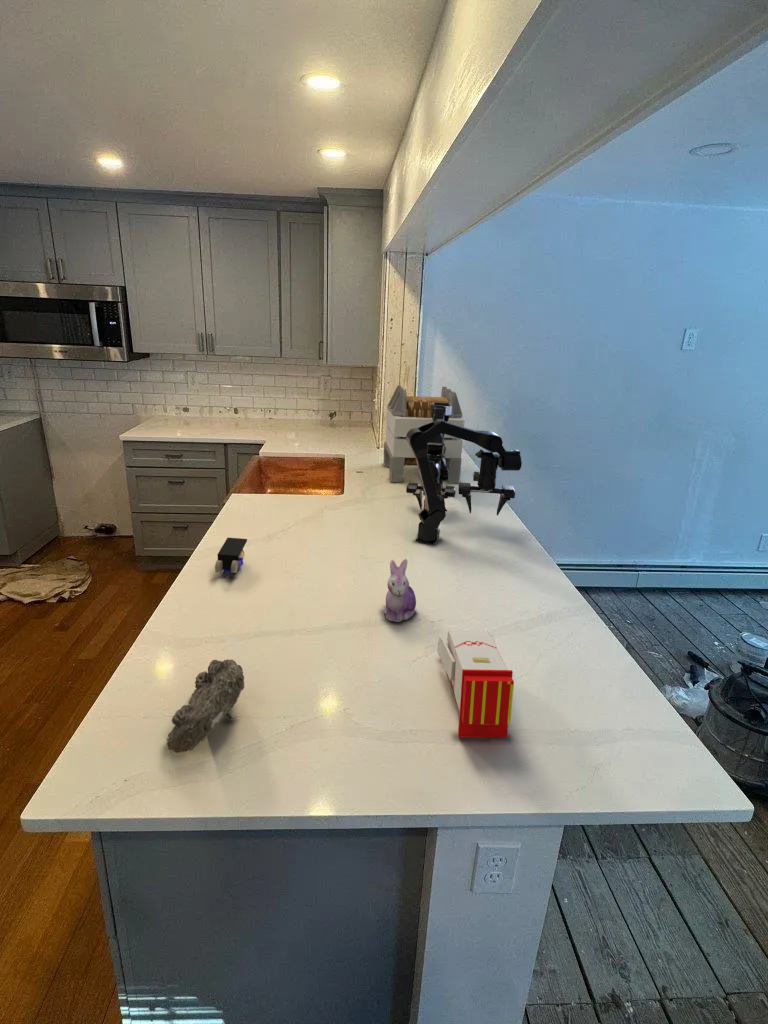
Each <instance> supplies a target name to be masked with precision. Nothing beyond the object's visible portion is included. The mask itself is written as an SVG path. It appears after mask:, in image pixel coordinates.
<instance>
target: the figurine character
mask: <svg viewBox="0 0 768 1024" xmlns="http://www.w3.org/2000/svg"><path fill="white" fill-rule="evenodd" d="M247 542H248V538H240V537H226V539H225V541H224V543H223V544H222V546H221V547H220V549H219V551H218V552H217V560H216V562H215V564H214V572H215V573H221V577H222V578H224V577H225V576H226V574H227V573H230V574H231V573H232V574H231V578H234V577H235V575H236V573H237V572H239V571H240V567H242V566H243V565H244V564H245V562H244V558H245V551H244V547H245V546H246V544H247Z"/></svg>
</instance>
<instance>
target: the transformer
mask: <svg viewBox="0 0 768 1024" xmlns="http://www.w3.org/2000/svg"><path fill="white" fill-rule="evenodd" d="M440 393H441V394H440V396H415V395H414V396H413V395H412V396H411V395H407V394H408V393H407V390H406V389H404V388H403V387H402V385H399V384H398V385H397V386H396V388H395V390H394V392H393V394H392V395H391V398H390V400H389V402H388V404H387V405H386V413H385V414H386V415H385V423H386V428H385V438H384V442H383V466H384V467H388V468H389V475H388V476H389V477H388V478H389V480H390V482H391V483H402V482H403V475H404V469H405V466H406V467H407V466H411V467H412V466H413V467H415V466H416V467H418V466H417V462H416V458H415V456H414V454H413V452H412V450H411V448H410V446H409V444H408V441H407V439H406V434H407V433H408V431H409V430H410V429H412V428H419V427H421V426H423V425H426V424H428V423H431V422H433V419H432V414H430V409H431V405H434V403H435V402H442V403H449V405H451V406H452V413H451V415H450V417H449V420H448V421H447V422H449V423H452V424H456V425H459V426H462V427H465V419H464V418H463V411H462V408H461V405H460V402H459V398H458V395H457V392H455V391H453V390H452V389H451V388H447V386H442V387H441V392H440ZM463 442H464V440H463V439H460V438H456V437H453V436H450V435H446V434H445V436H444V443H445V446H446V452H445V458H444V459H445V461H446V467H447V468H448V470H449V473H448V480H446V481H445V482H447V483H449V484H455V483H456V484H459V483H460V482H461V472H462V461H463V460H462V453H463ZM428 455H429V454H428Z"/></svg>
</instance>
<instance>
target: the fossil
mask: <svg viewBox="0 0 768 1024" xmlns="http://www.w3.org/2000/svg"><path fill="white" fill-rule="evenodd" d="M243 670H244V669H243V667H242V665H240V664H237V662H236V661H235V660H234V659H232V658H231V659H227V658H226V659H224V660H223V661H222V660H217V659H212V660H211V661H210V663H209V665H208V666H207V671H201V672H199V673H198V674H197V675H196V676H195V680H194V684H195V685H194V687H195V689H194V690H193V693H192V694H191V697H190V698H189V700H188V704H184V705H182V706H181V707H180V709H177V710H176V711H175V713H174V715H173V716H172V718H171V723H172V724H173V727H172V730H171V731H170V732H168V734H167V738H166V741H167V742H166V745H167V749H168V750H169V751H173V752H174V753H176V754H178V753H182V752H188V751H189V752H192V751H193V750H195V748H196V747H197V746H199V744H200V743H201V742H203V741H204V740H205V739H206V738H207V737H208V736H209V735H210V734H211V733H212V732H214V730H215V729H217V727H218V726H219V724H220V722H221V721H222V720H223V719H224V718H225V716H226V717H227V719H229V720H233V717H232V715H230V714H229V710H230V709H231V708H234V706H235V704H236V703H237V702H238V699H239V697H240V695H241V693H242V691H243V690H245V689H244V688H245V675H244V671H243Z"/></svg>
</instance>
